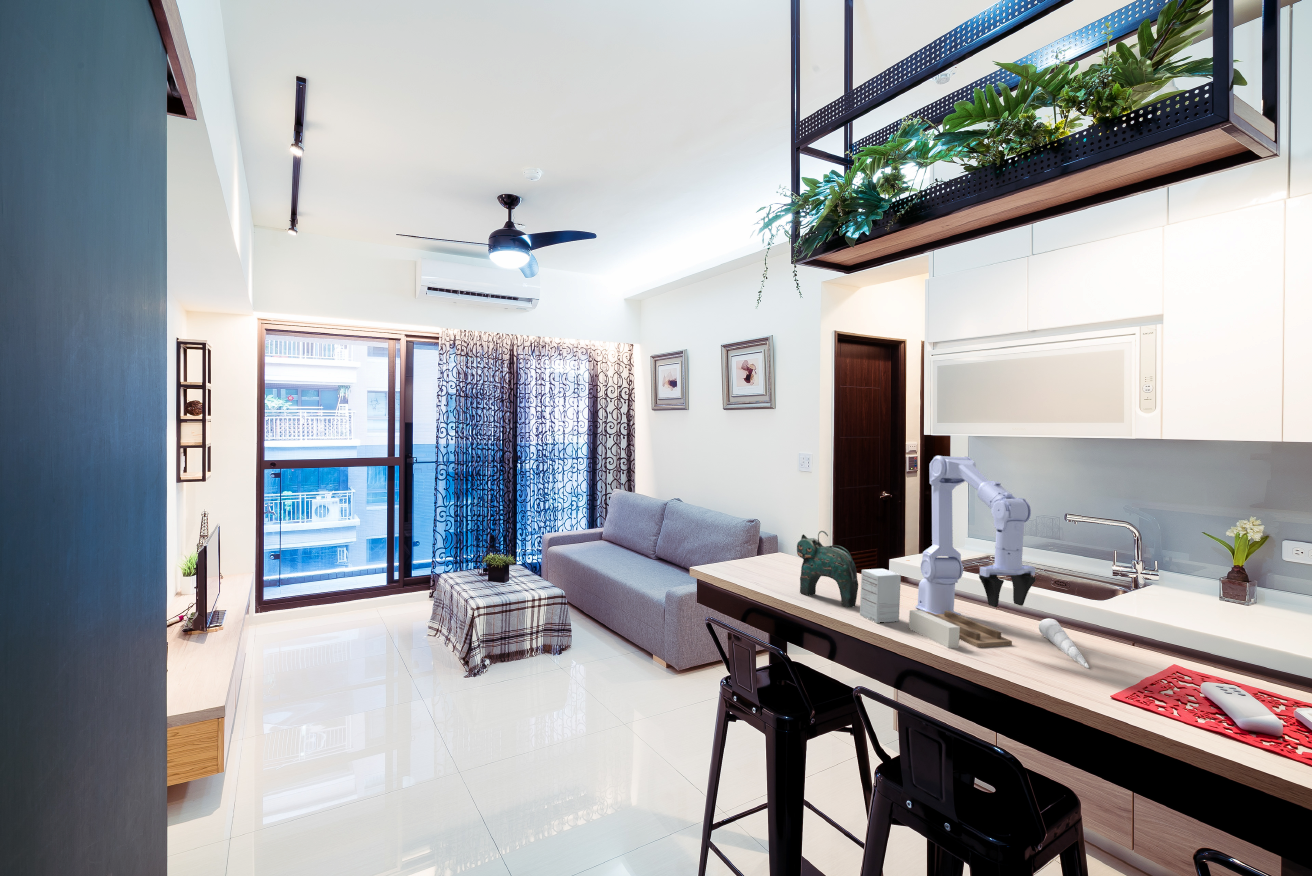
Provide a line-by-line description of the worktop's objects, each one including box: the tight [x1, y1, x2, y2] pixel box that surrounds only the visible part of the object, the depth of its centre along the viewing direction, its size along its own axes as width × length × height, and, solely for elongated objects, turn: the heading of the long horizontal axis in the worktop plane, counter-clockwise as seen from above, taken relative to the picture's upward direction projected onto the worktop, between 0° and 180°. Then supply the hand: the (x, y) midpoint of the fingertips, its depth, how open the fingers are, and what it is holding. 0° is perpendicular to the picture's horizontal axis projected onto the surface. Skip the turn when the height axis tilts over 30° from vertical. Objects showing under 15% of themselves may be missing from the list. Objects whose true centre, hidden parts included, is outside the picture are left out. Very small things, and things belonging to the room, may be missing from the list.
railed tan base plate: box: [926, 611, 1013, 648], centre depth 163 cm, size 22×10×2 cm, turn 16°
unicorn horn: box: [1038, 618, 1090, 669], centre depth 151 cm, size 5×24×5 cm, turn 164°
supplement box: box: [859, 568, 902, 624], centre depth 171 cm, size 7×7×13 cm
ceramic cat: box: [796, 530, 859, 608], centre depth 188 cm, size 20×6×20 cm, turn 37°
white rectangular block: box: [908, 609, 960, 649], centre depth 157 cm, size 14×3×5 cm, turn 16°
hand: (1005, 605), depth 153 cm, fingers open, 7 cm apart
